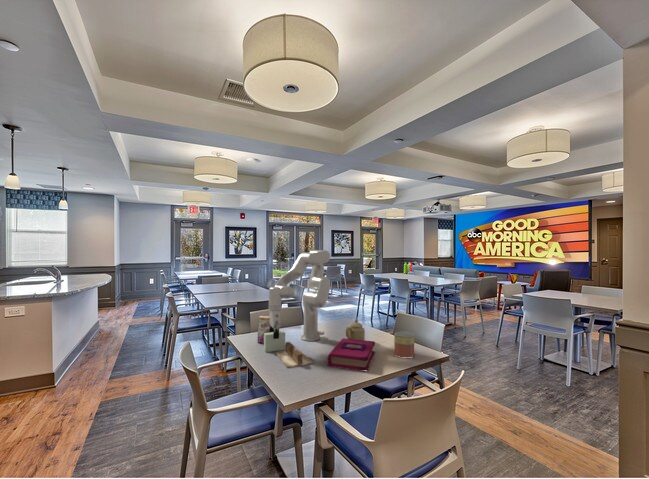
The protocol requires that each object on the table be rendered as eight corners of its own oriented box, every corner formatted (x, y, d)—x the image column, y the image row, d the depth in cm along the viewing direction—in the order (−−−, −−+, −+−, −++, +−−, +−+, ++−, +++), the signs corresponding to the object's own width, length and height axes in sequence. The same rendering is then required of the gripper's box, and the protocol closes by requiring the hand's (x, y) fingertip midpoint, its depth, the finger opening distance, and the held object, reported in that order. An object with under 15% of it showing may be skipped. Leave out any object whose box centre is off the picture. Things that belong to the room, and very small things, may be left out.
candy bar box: (257, 343, 192) (257, 317, 192) (259, 340, 197) (260, 315, 197) (274, 344, 191) (274, 318, 191) (276, 341, 196) (276, 316, 196)
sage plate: (283, 347, 185) (283, 331, 185) (285, 349, 181) (285, 332, 181) (263, 349, 180) (264, 333, 180) (265, 352, 176) (265, 334, 176)
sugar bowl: (362, 347, 187) (362, 322, 187) (345, 345, 190) (345, 321, 190) (365, 339, 201) (365, 317, 202) (349, 338, 204) (349, 316, 204)
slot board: (298, 350, 179) (298, 340, 180) (312, 363, 159) (312, 352, 160) (275, 353, 174) (276, 343, 174) (287, 367, 154) (287, 356, 154)
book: (327, 366, 157) (327, 352, 157) (340, 349, 183) (340, 336, 184) (367, 372, 150) (367, 357, 151) (375, 353, 177) (375, 340, 177)
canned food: (396, 350, 182) (396, 330, 182) (415, 353, 177) (415, 332, 177) (392, 356, 172) (392, 335, 172) (412, 359, 167) (412, 338, 167)
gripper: (285, 310, 175) (284, 339, 174) (277, 304, 190) (276, 332, 190) (272, 310, 172) (271, 341, 171) (265, 305, 187) (264, 333, 187)
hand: (274, 336), depth 180 cm, fingers open, 9 cm apart
